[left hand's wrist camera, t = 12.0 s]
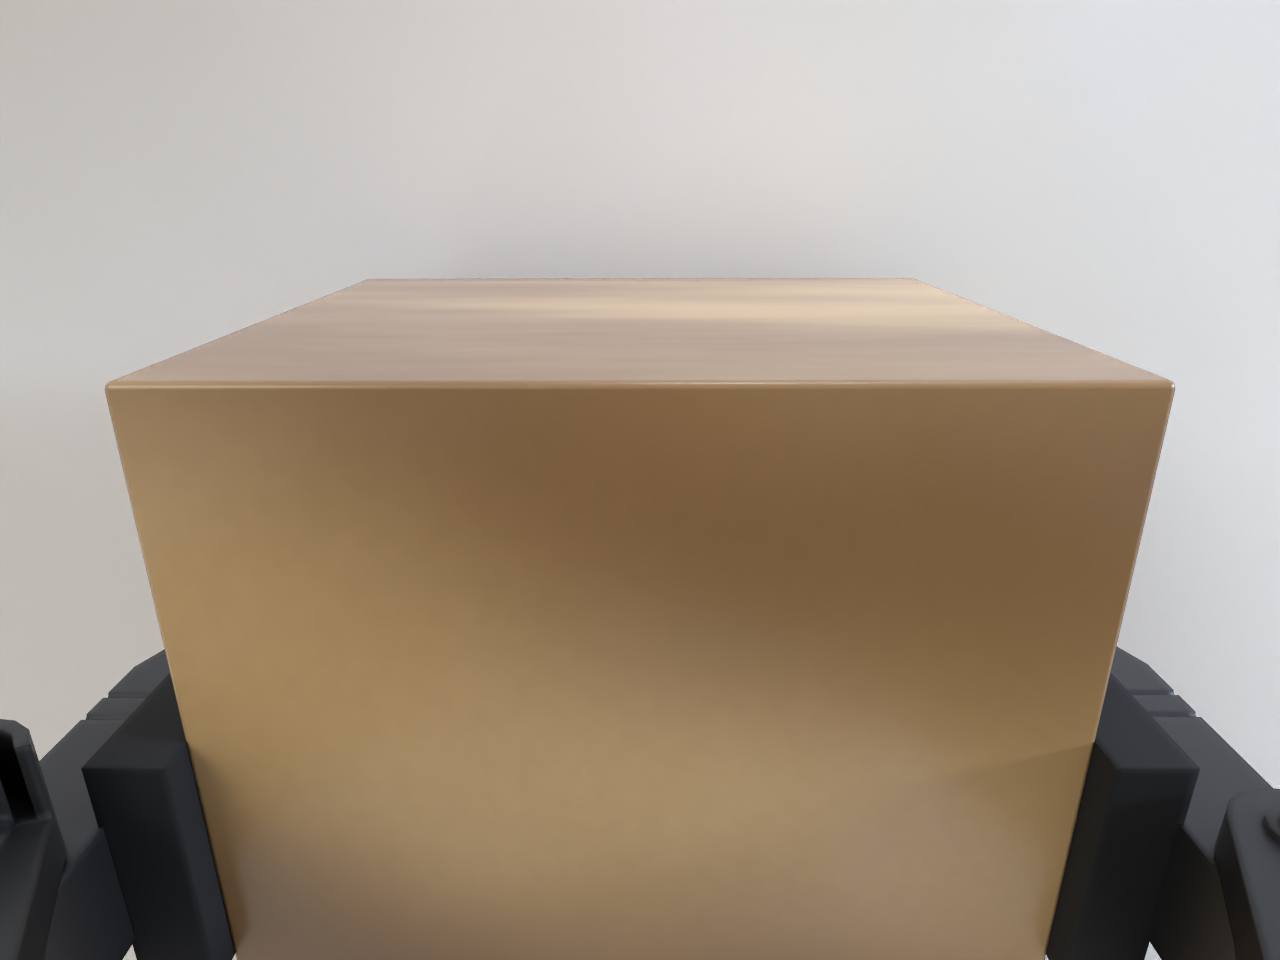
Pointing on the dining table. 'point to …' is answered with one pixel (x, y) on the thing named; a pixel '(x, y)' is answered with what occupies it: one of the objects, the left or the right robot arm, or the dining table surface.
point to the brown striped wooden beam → (640, 614)
